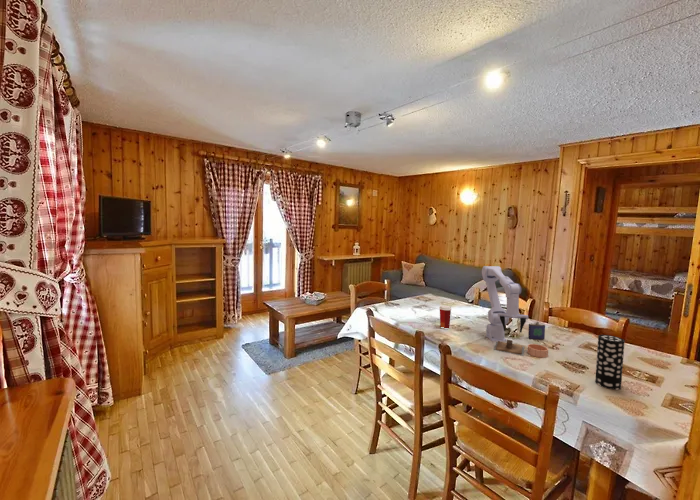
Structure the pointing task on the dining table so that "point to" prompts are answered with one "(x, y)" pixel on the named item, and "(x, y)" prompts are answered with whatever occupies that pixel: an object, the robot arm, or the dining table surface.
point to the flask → (536, 331)
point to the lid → (509, 347)
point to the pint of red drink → (445, 316)
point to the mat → (509, 352)
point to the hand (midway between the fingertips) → (512, 331)
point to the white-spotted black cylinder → (609, 361)
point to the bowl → (537, 350)
